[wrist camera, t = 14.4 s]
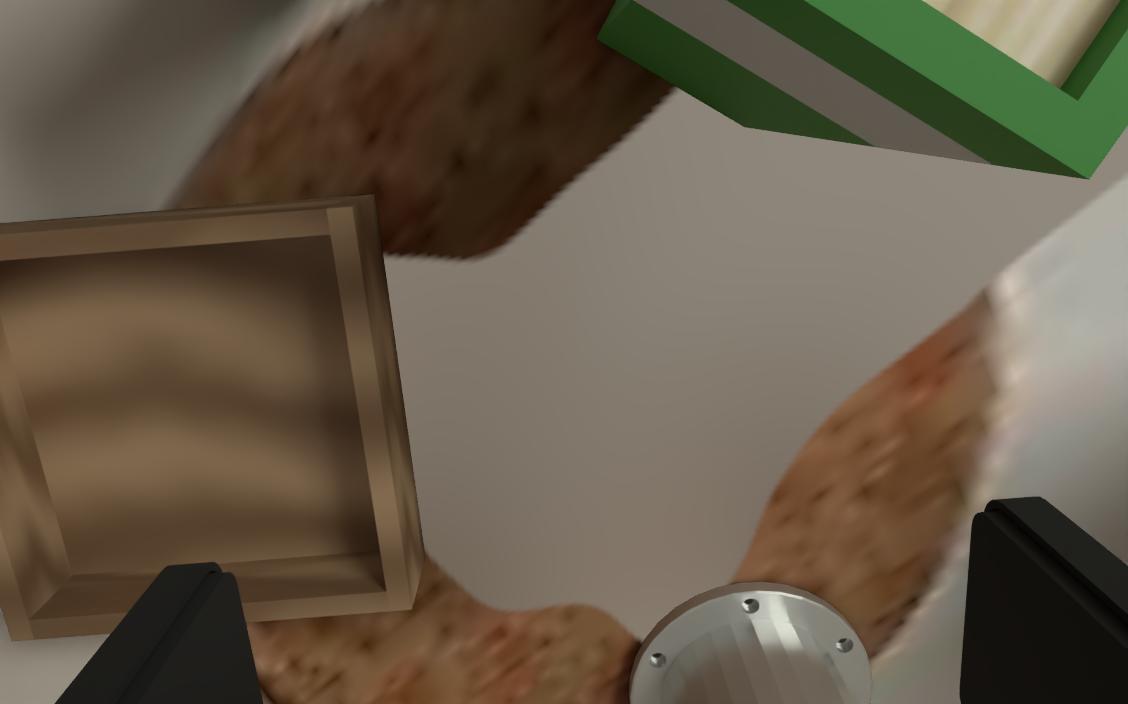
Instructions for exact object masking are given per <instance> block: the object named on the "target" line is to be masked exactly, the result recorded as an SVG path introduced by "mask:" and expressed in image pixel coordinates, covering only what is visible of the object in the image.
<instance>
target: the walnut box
mask: <svg viewBox="0 0 1128 704" xmlns="http://www.w3.org/2000/svg"><path fill="white" fill-rule="evenodd" d="M408 437H409V436H408V429H407V422H406V416H405V408H404V401H403V394H402V387H401V380H400V372H399V365H398V358H397V351H396V344H395V337H394V329H393V322H392V315H391V308H390V301H389V294H388V287H387V279H386V272H385V265H384V258H383V251H382V243H381V236H380V229H379V222H378V215H377V208H376V201H375V194H366V195H354V196H341V197H329V198H316V199H303V200H291V201H278V202H265V203H253V204H240V205H227V206H215V207H202V208H189V209H177V210H164V211H152V212H139V213H126V214H114V215H101V216H88V217H76V218H63V219H50V220H38V221H25V222H12V223H0V605H1V608H2V611H3V614H4V618H5V621H6V624H7V627H8V630H9V634H10V637H11V640H12V641H21V640H34V639H46V638H59V637H71V636H84V635H97V634H109V633H112V632H113V630H114V629H115V628H116V627H117V626H118V624H119V623H120V622H121V621H122V619H123V618H124V617H125V616H126V614H127V613H128V612H129V611H130V609H131V608H132V607H133V606H134V604H135V603H136V602H137V601H138V599H139V598H140V597H141V596H142V594H143V593H144V592H145V591H146V589H147V588H148V587H149V586H150V585H151V583H152V582H153V581H154V580H155V578H156V577H157V576H158V575H159V573H160V572H161V571H162V570H163V569H164V568H165V567H166V566H169V565H178V564H191V563H204V562H215V563H217V564H218V565H219V566H220V568H221V570H222V572H231V573H232V574H233V575H234V576H235V578H236V581H237V584H238V589H239V594H240V598H241V603H242V608H243V612H244V617H245V621H246V623H248V622H261V621H273V620H286V619H298V618H311V617H324V616H336V615H349V614H361V613H374V612H387V611H399V610H412V607H413V603H414V599H415V595H416V592H417V588H418V584H419V580H420V576H421V572H422V568H423V564H424V560H425V551H424V544H423V537H422V529H421V523H420V516H419V508H418V501H417V494H416V487H415V480H414V472H413V465H412V458H411V451H410V444H409V438H408Z"/></svg>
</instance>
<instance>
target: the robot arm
mask: <svg viewBox="0 0 1128 704" xmlns="http://www.w3.org/2000/svg"><path fill="white" fill-rule="evenodd" d="M871 694H872V674H871V666H870V663H869V660H868V657H867V654H866V651H865V648H864V646H863V645H862V643H861V641H860V639H859V637H858V636H857V634H856V632H855V631H854V629H853V628H852V627H851V625H850V624H849V623H848V621H847V620H846V619H845V617H844V616H843V615H842V614H841V613H840V612H838V611H837V610H836V609H835V608H834V607H832V606H831V605H830V604H829V603H828V602H826V601H824V600H823V599H821V598H819V597H817V596H815V595H813V594H812V593H810V592H808V591H804V590H801V589H798V588H795V587H792V586H789V585H784V584H776V583H769V582H747V583H737V584H732V585H727V586H722V587H717V588H715V589H712V590H710V591H707V592H704V593H702V594H699V595H697V596H694V597H693V598H691V599H689V600H688V601H686V602H684V603H683V604H681V605H679V606H678V607H676V608H675V609H673V610H672V611H671V612H670V613H669V614H668V615H666V616H665V617H664V618H663V619H662V620H661V621H659V622H658V623H657V625H656V626H655V627H654V628H653V630H652V631H651V632H650V634H649V635H648V636H647V637H646V638H645V640H644V642H643V644H642V645H641V647H640V649H639V651H638V653H637V655H636V657H635V660H634V664H633V667H632V671H631V674H630V684H629V700H630V704H870V701H871ZM960 701H961V704H1128V566H1127V565H1126V564H1125V563H1123V562H1122V561H1121V560H1120V559H1119V558H1117V557H1116V556H1115V555H1114V554H1112V553H1111V552H1110V551H1109V550H1107V549H1106V548H1105V547H1104V546H1102V545H1101V544H1100V543H1099V542H1097V541H1096V540H1095V539H1094V538H1092V537H1091V536H1090V535H1089V534H1087V533H1086V532H1085V531H1084V530H1082V529H1081V528H1080V527H1079V526H1077V525H1076V524H1075V523H1074V522H1072V521H1071V520H1070V519H1069V518H1067V517H1066V516H1065V515H1064V514H1063V513H1061V512H1060V511H1059V510H1058V509H1056V508H1055V507H1054V506H1053V505H1051V504H1050V503H1049V502H1048V501H1046V500H1045V499H1043V498H1041V497H1024V498H1011V499H998V500H991V501H990V502H989V503H988V504H987V506H986V508H985V510H984V512H980V513H977V514H976V515H975V516H974V518H973V521H972V528H971V542H970V555H969V569H968V582H967V596H966V609H965V623H964V636H963V650H962V663H961V677H960ZM55 704H263V700H262V695H261V691H260V686H259V682H258V677H257V672H256V668H255V663H254V658H253V654H252V649H251V645H250V640H249V635H248V631H247V626H246V621H245V617H244V612H243V608H242V603H241V598H240V594H239V589H238V584H237V581H236V578H235V576H234V575H233V574H232V573H231V572H222V570H221V568H220V566H219V565H218V564H217V563H215V562H204V563H191V564H178V565H169V566H166V567H165V568H164V569H163V570H162V571H161V572H160V573H159V575H158V576H157V577H156V578H155V580H154V581H153V582H152V583H151V585H150V586H149V587H148V588H147V589H146V591H145V592H144V593H143V594H142V596H141V597H140V598H139V599H138V601H137V602H136V603H135V604H134V606H133V607H132V608H131V609H130V611H129V612H128V613H127V614H126V616H125V617H124V618H123V619H122V621H121V622H120V623H119V624H118V626H117V627H116V628H115V629H114V630H113V632H112V633H111V634H110V635H109V637H108V638H107V639H106V640H105V642H104V643H103V644H102V645H101V647H100V648H99V649H98V650H97V652H96V653H95V654H94V655H93V657H92V658H91V659H90V660H89V662H88V663H87V664H86V665H85V667H84V668H83V669H82V670H81V671H80V673H79V674H78V675H77V676H76V678H75V679H74V680H73V681H72V683H71V684H70V685H69V686H68V688H67V689H66V690H65V691H64V693H63V694H62V695H61V696H60V698H59V699H58V700H57V701H56V703H55Z"/></svg>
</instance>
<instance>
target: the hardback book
mask: <svg viewBox="0 0 1128 704" xmlns="http://www.w3.org/2000/svg"><path fill="white" fill-rule="evenodd" d="M596 39H597V40H598V41H600V42H602V43H603V44H605V45H607V46H609V47H610V48H612V49H614V50H615V51H617V52H619V53H620V54H622V55H624V56H625V57H627V58H629V59H630V60H632V61H634V62H636V63H637V64H639V65H641V66H642V67H644V68H646V69H647V70H649V71H651V72H652V73H654V74H656V75H658V76H659V77H661V78H663V79H664V80H666V81H668V82H669V83H671V84H673V85H674V86H676V87H678V88H679V89H681V90H683V91H685V92H686V93H688V94H690V95H691V96H693V97H695V98H696V99H698V100H700V101H701V102H703V103H705V104H707V105H708V106H710V107H712V108H713V109H715V110H717V111H718V112H720V113H722V114H723V115H725V116H727V117H729V118H730V119H732V120H734V121H735V122H737V123H739V124H740V125H742V126H744V127H748V128H755V129H761V130H767V131H774V132H780V133H787V134H793V135H800V136H807V137H813V138H820V139H826V140H833V141H840V142H846V143H852V144H859V145H866V146H873V147H879V148H885V149H892V150H898V151H905V152H912V153H918V154H925V155H931V156H938V157H945V158H951V159H957V160H965V161H970V162H977V163H984V164H990V165H997V166H1003V167H1010V168H1016V169H1023V170H1030V171H1036V172H1043V173H1049V174H1056V175H1063V176H1069V177H1075V178H1082V179H1090V177H1091V176H1092V174H1093V173H1094V172H1095V170H1096V169H1097V168H1098V166H1099V165H1100V163H1101V162H1102V161H1103V159H1104V158H1105V156H1106V155H1107V154H1108V152H1109V151H1110V149H1111V148H1112V147H1113V145H1114V144H1115V142H1116V141H1117V139H1118V138H1119V137H1120V135H1121V133H1122V132H1123V131H1124V130H1125V128H1126V127H1127V125H1128V0H616V1H615V3H614V5H613V7H612V9H611V11H610V13H609V15H608V17H607V19H606V20H605V22H604V24H603V26H602V28H601V30H600V32H599V34H598V36H597V38H596Z"/></svg>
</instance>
